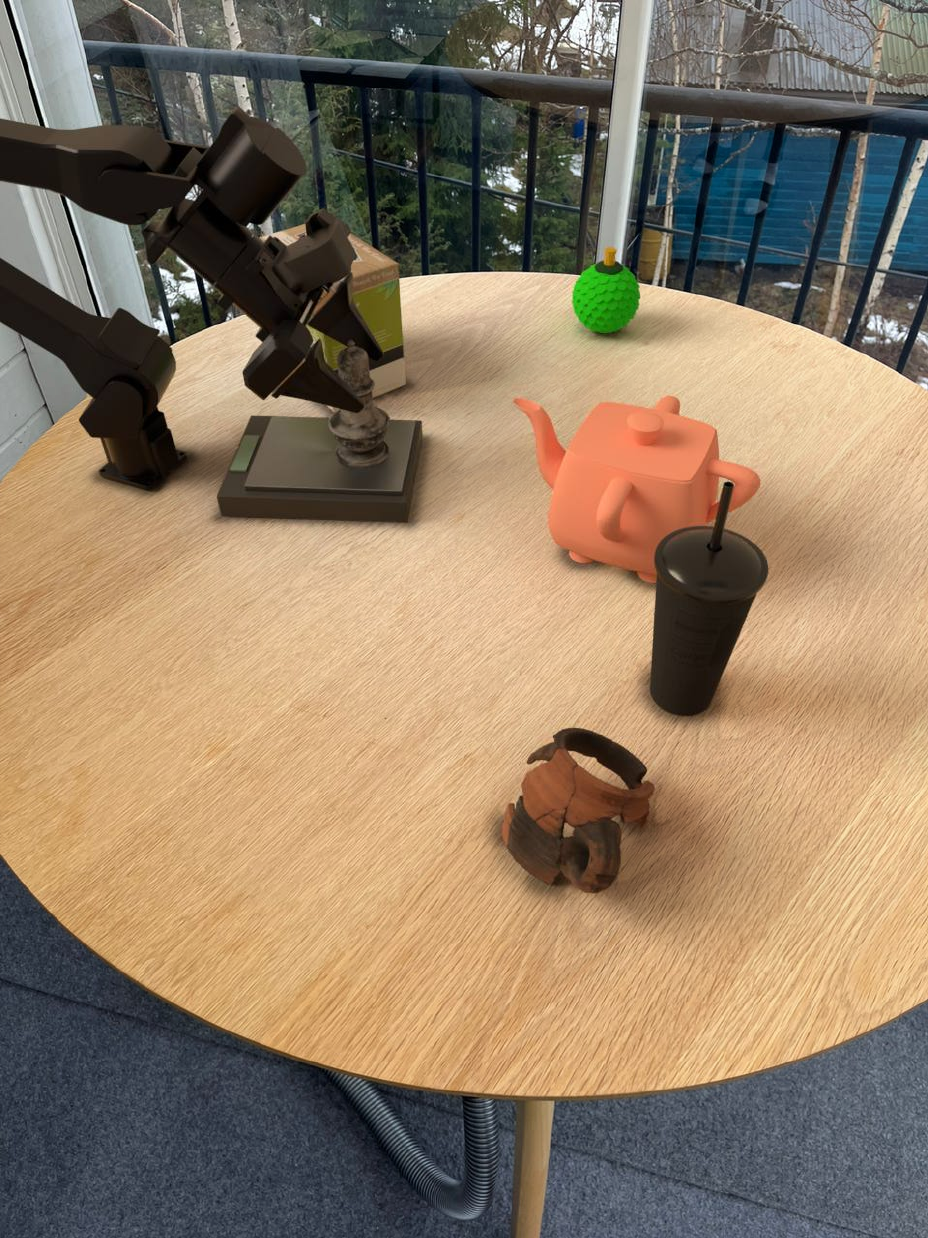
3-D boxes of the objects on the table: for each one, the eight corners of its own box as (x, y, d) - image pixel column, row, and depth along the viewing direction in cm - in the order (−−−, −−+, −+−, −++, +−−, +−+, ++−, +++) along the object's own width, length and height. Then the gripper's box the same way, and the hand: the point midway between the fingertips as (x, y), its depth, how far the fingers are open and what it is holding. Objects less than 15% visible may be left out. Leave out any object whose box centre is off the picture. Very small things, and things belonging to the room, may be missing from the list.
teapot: (747, 571, 83) (781, 447, 74) (590, 621, 79) (605, 495, 70) (650, 471, 95) (669, 351, 85) (508, 509, 90) (511, 388, 81)
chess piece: (404, 453, 92) (397, 340, 84) (356, 477, 89) (343, 363, 81) (367, 428, 95) (357, 317, 87) (320, 451, 92) (304, 338, 84)
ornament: (581, 309, 119) (588, 230, 112) (643, 321, 117) (654, 241, 110) (560, 338, 114) (566, 257, 107) (625, 351, 112) (635, 269, 105)
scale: (221, 516, 90) (215, 494, 88) (254, 434, 100) (250, 413, 98) (407, 523, 89) (406, 500, 87) (422, 439, 99) (421, 418, 97)
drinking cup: (736, 669, 75) (796, 462, 61) (723, 741, 70) (785, 532, 56) (642, 647, 77) (678, 441, 63) (622, 716, 72) (657, 508, 58)
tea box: (268, 360, 111) (246, 235, 101) (340, 335, 115) (327, 213, 105) (333, 416, 102) (316, 285, 92) (409, 386, 107) (402, 258, 96)
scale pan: (245, 490, 89) (243, 485, 88) (272, 421, 97) (271, 416, 97) (402, 495, 88) (401, 490, 88) (416, 425, 97) (415, 420, 96)
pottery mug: (478, 799, 67) (526, 706, 64) (591, 822, 70) (641, 735, 67) (521, 926, 57) (581, 823, 54) (651, 947, 60) (713, 850, 57)
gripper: (257, 241, 69) (413, 383, 75) (316, 153, 82) (445, 280, 89) (177, 335, 75) (328, 459, 82) (244, 239, 88) (369, 352, 95)
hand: (371, 382), depth 87 cm, fingers open, 9 cm apart
